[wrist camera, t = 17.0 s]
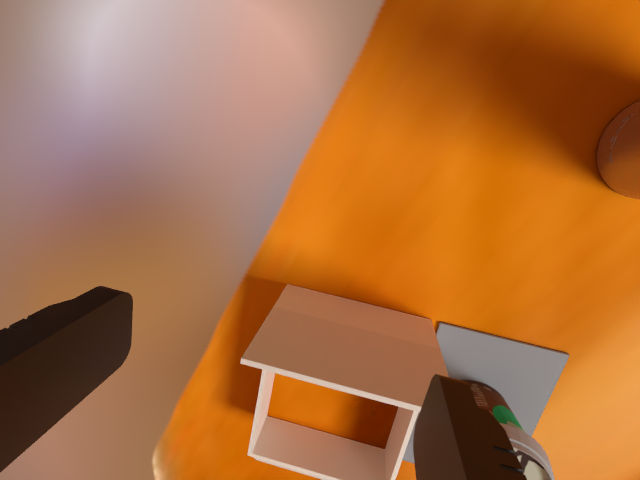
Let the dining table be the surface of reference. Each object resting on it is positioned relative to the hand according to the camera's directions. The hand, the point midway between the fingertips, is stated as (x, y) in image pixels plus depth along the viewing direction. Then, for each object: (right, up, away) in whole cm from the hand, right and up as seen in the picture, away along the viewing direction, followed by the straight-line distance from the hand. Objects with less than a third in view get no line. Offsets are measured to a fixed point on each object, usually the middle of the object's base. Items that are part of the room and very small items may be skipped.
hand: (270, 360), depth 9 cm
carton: (+3, -17, +36) cm, 40 cm away
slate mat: (+20, -17, +33) cm, 42 cm away
